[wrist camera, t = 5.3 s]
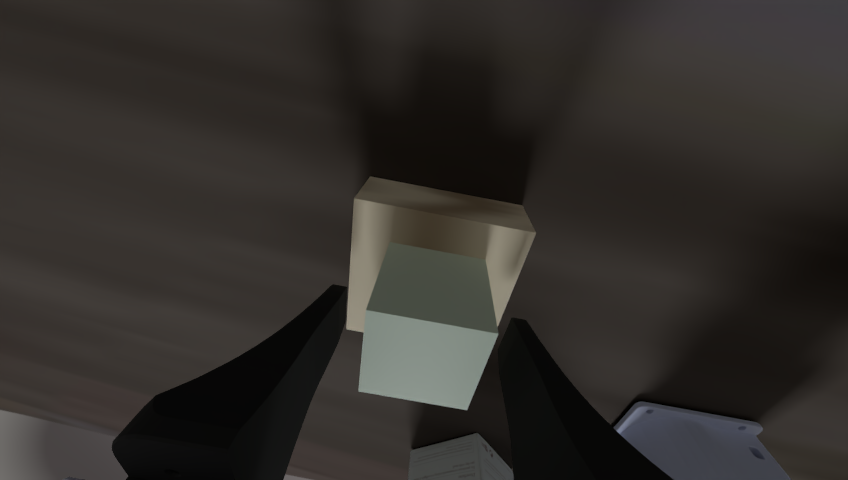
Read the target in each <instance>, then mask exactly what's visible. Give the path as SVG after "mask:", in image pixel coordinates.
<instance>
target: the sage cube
mask: <svg viewBox="0 0 848 480" xmlns="http://www.w3.org/2000/svg"><path fill="white" fill-rule="evenodd" d="M497 336H498V328H497V322H496V316H495V311H494V305H493V299H492V293H491V288H490V282H489V276H488V270H487V265H486V260H485V259H480V258H474V257H469V256H463V255H458V254H452V253H447V252H442V251H436V250H431V249H425V248H420V247H414V246H409V245H403V244H398V243H393V242H390V243H389V245H388V248H387V251H386V254H385V257H384V260H383V263H382V265H381V268H380V271H379V274H378V277H377V280H376V282H375V285H374V288H373V291H372V294H371V297H370V300H369V302H368V305H367V308H366V314H365V325H364V336H363V346H362V357H361V368H360V379H359V390H358V391H360V392H366V393H371V394H377V395H383V396H389V397H394V398H400V399H406V400H411V401H417V402H423V403H428V404H434V405H440V406H445V407H451V408H457V409H462V410H467V409H468V407H469V404H470V402H471V399H472V397H473V395H474V392H475V390H476V387H477V385H478V383H479V380H480V378H481V375H482V373H483V370H484V368H485V366H486V363H487V361H488V358H489V356H490V353H491V351H492V349H493V346H494V344H495V341H496V339H497Z"/></svg>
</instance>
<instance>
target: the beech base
mask: <svg viewBox="0 0 848 480" xmlns="http://www.w3.org/2000/svg"><path fill="white" fill-rule="evenodd" d="M535 235H536V232H535V230H534V228H533V226H532V224H531V222H530V220H529V218H528V216H527V214H526V212H525V210H524V208H523V206H522V205H517V204H512V203H507V202H502V201H496V200H491V199H486V198H481V197H476V196H470V195H465V194H460V193H455V192H450V191H444V190H439V189H434V188H429V187H423V186H418V185H413V184H408V183H403V182H397V181H392V180H387V179H382V178H377V177H371V176H370V177H369V179H368V180H367V181H366V183H365V184H364V185H363V187H362V188H361V190H360V191H359V192H358V194H357V195H356V196H355V198H354V207H353V224H352V242H351V259H350V276H349V293H348V310H347V328H346V329H348V330H354V331H359V332H364V325H365V314H366V308H367V305H368V302H369V300H370V297H371V294H372V291H373V288H374V285H375V282H376V280H377V277H378V274H379V271H380V268H381V265H382V263H383V260H384V257H385V254H386V251H387V248H388V245H389V243H390V242H393V243H398V244H403V245H409V246H414V247H420V248H425V249H431V250H436V251H442V252H447V253H452V254H458V255H463V256H469V257H474V258H480V259H485V260H486V265H487V270H488V276H489V282H490V288H491V293H492V299H493V305H494V311H495V316H496V322H497V327H498V325H499V322H500V320H501V317H502V315H503V312H504V310H505V308H506V305H507V303H508V300H509V298H510V295H511V293H512V291H513V288H514V286H515V283H516V281H517V278H518V276H519V274H520V271H521V269H522V266H523V264H524V261H525V259H526V256H527V254H528V252H529V249H530V247H531V244H532V242H533V239H534V237H535Z"/></svg>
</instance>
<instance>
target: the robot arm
mask: <svg viewBox="0 0 848 480" xmlns="http://www.w3.org/2000/svg"><path fill="white" fill-rule="evenodd" d="M346 300H347V287H344V286H339V285H334V284H333V285H331V286H330V287H329V288H328V289H327V290H326V291H325V292H324V293H323V294H322V295H321V296H320V297H319V298H318V299H316V300H315V301H314V302H313V303H312V304H311V305H310V306H309V307H307V308H306V309H305V310H304V311H303V312H302V313H300V314H299V315H298V316H297V317H296V318H294V319H293V320H292V321H291V322H289V323H288V324H287V325H285V326H284V327H283V328H281V329H280V330H279V331H277V332H276V333H275V334H273V335H272V336H270V337H269V338H267V339H266V340H264V341H263V342H261V343H260V344H258V345H257V346H255V347H254V348H252V349H250V350H249V351H247V352H245V353H244V354H242V355H240V356H239V357H237V358H235V359H233V360H231V361H230V362H228V363H226V364H224V365H222V366H220V367H218V368H216V369H214V370H212V371H210V372H208V373H206V374H204V375H202V376H200V377H198V378H196V379H193V380H191V381H189V382H187V383H184V384H182V385H180V386H177V387H175V388H172V389H170V390H168V391H165V392H163V393H160V394H158V395H156V396H155V397H154V398H153V399H152V400H151V401H150V402H149V403H148V404H146V405H145V406H144V407H143V408H142V410H141V411H140V412H139V413H138V414H137V415H136V416H135V417H134V418H133V419H132V421H131V422H130V423H129V424H128V425H127V426H126V427H125V428H124V430H123V431H122V432H121V433H120V434H119V435H118V436H117V437H116V438H115V440H114V441H113V444H112V451H113V453H114V455H115V457H116V459H117V460H118V462H119V463H120V464H121V466H122V467H123V469H124V470H125V472H126V473H127V474H128V478H127V479H126V480H283V479H284V476H285V473H286V470H287V467H288V464H289V461H290V458H291V455H292V452H293V449H294V446H295V444H296V441H297V438H298V435H299V432H300V430H301V427H302V424H303V421H304V419H305V416H306V413H307V410H308V408H309V405H310V402H311V400H312V398H313V395H314V393H315V391H316V388H317V386H318V384H319V382H320V380H321V378H322V376H323V374H324V372H325V370H326V367H327V365H328V363H329V361H330V359H331V357H332V355H333V353H334V351H335V348H336V346H337V344H338V342H339V339H340V336H341V333H342V330H343V327H344V324H345V318H346ZM498 361H499V374H500V380H501V386H502V391H503V397H504V402H505V408H506V413H507V419H508V424H509V431H510V438H511V449H512V461H513V475H514V480H791V478H790V477H789V476H788V475H787V474H786V472H785V471H784V470H783V469H782V468H781V466H780V465H779V464H778V463H777V461H776V460H775V459H774V458H773V457H772V455H771V454H770V453H769V452H768V450H767V449H766V448H765V447H764V446H763V444H762V443H761V442H760V441H759V439H758V438H757V437H756V435H758V434H759V433H760V432H762V430H763V428H762V427H761V425H760V424H759V423H757V422H753V421H748V420H742V419H737V418H731V417H726V416H720V415H715V414H709V413H704V412H698V411H693V410H687V409H682V408H676V407H671V406H665V405H660V404H654V403H649V402H642V401H641V402H637V403H635V404H634V405H633V406H632V407H631V408H630V410H629V411H628V412H627V413H626V414H625V415H624V416H623V417H622V419H621V420H620V421H619V422H618V423H617V424H616V425H615V426H614V428H613V427H612V426H611V425H610V424H609V423H608V422H607V421H606V420H605V419H604V418H603V417H602V416H601V415H600V414H599V413H598V412H597V411H596V410H595V409H594V408H593V407H592V406H591V405H590V404H589V403H588V401H587V400H586V399H585V398H584V397H583V396H582V395H581V394H580V393H579V391H578V390H577V389H576V388H575V387H574V386H573V384H572V383H571V382H570V381H569V379H568V378H567V377H566V376H565V374H564V373H563V372H562V371H561V369H560V368H559V367H558V365H557V364H556V363H555V361H554V360H553V359H552V357H551V356H550V354H549V353H548V352H547V350H546V349H545V347H544V346H543V344H542V343H541V342H540V340H539V339H538V337H537V336H536V334H535V333H534V331H533V330H532V328H531V327H530V325H529V324H528V323H527V321H526V320H522V319H517V318H511V321H510V323H509V325H508V328H507V330H506V332H505V334H504V337H503V339H502V341H501V344H500V346H499V348H498ZM63 480H83V479H77V478H72V477H68V478H65V479H63Z"/></svg>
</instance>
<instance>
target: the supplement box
mask: <svg viewBox="0 0 848 480" xmlns="http://www.w3.org/2000/svg"><path fill="white" fill-rule="evenodd" d="M408 480H514V476H513V472H512V470H511V469H510V467H509V466H508V465H507V464H506V463H505V462H504V461H503V459H502V458H501V457H500V456H499V455H498V454H497V453H496V452H495V451H494V450H493V448H492V447H491V446H490V445H489V444H488V443H487V442H486V441H485V440H484V439H483V438H482V437H481V436H480V435H479V434H478V433H474V434H471V435H467V436H464V437H460V438H456V439H452V440H449V441H445V442H441V443H437V444H433V445H430V446H426V447H422V448H418V449H414V450H411V453H410V464H409V474H408Z"/></svg>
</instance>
